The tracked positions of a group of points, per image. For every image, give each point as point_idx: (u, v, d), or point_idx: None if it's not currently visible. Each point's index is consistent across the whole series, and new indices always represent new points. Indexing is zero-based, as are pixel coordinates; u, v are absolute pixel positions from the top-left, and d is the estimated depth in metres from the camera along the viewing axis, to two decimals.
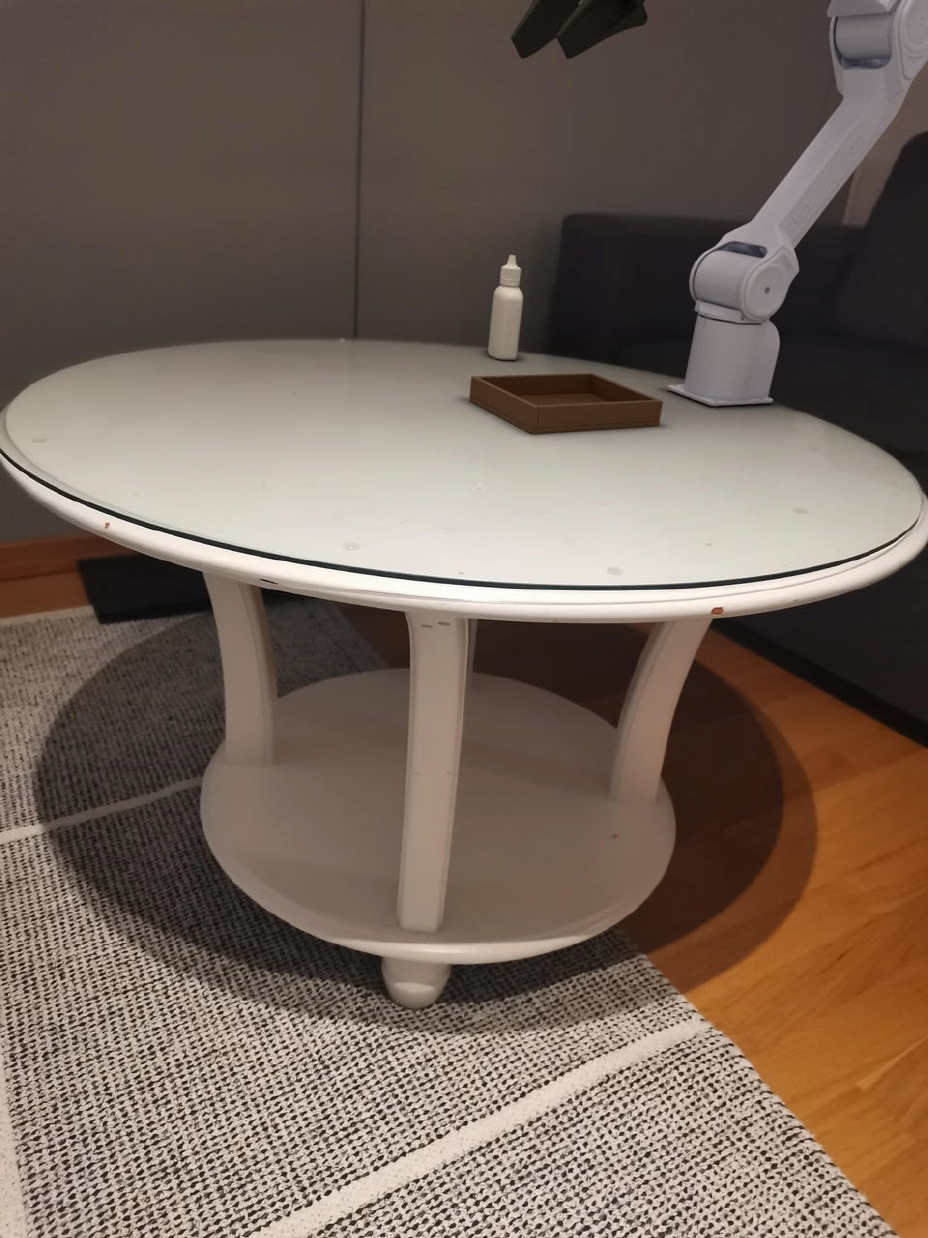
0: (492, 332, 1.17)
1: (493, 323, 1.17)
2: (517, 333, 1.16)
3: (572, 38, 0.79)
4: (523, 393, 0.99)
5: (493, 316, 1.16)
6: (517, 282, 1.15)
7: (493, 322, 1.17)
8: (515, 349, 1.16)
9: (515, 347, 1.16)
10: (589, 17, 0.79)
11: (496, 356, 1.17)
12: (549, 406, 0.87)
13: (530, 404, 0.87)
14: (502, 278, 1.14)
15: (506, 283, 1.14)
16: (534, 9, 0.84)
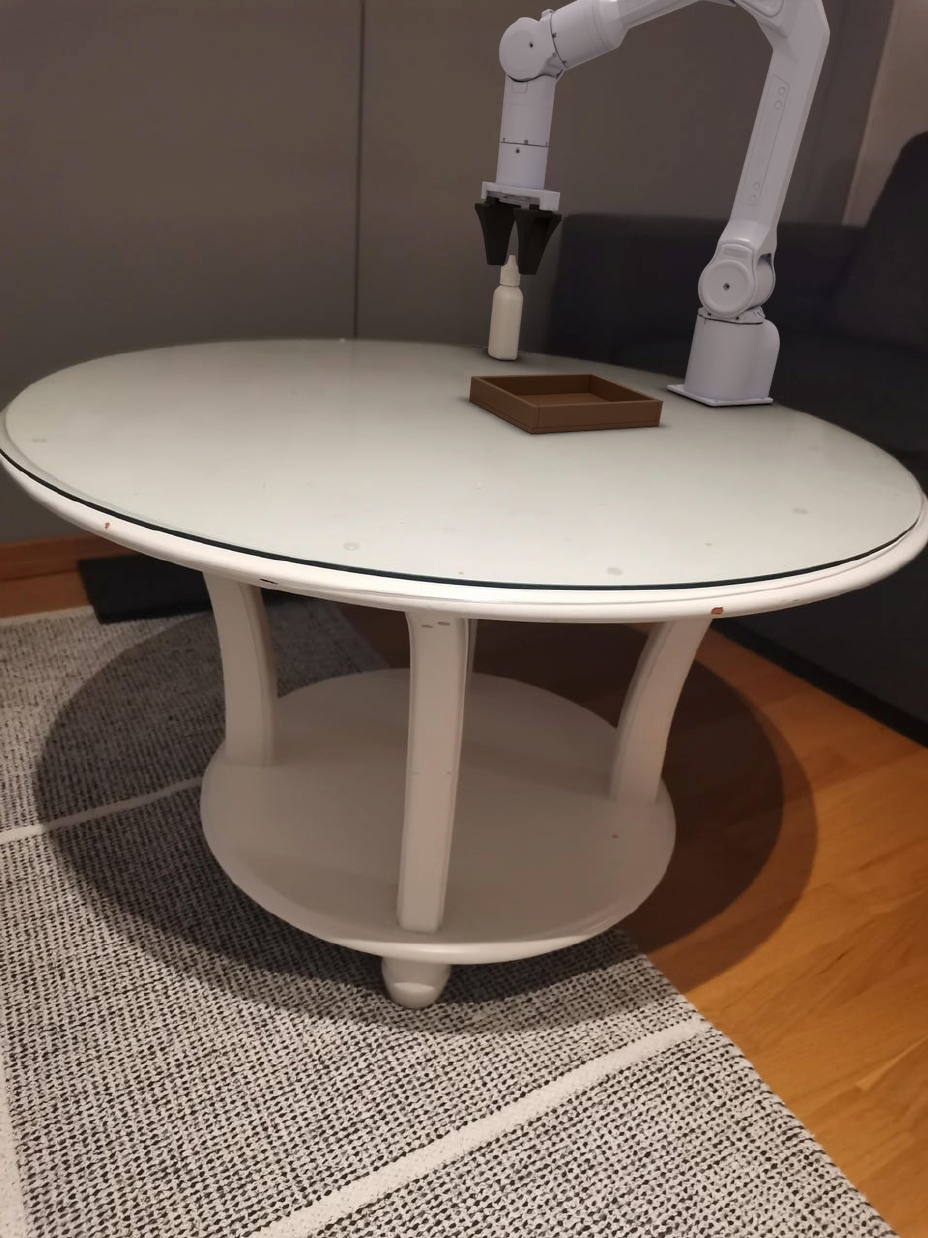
0: (492, 332, 1.17)
1: (493, 323, 1.17)
2: (517, 333, 1.16)
3: (529, 266, 1.11)
4: (523, 393, 0.99)
5: (493, 316, 1.16)
6: (517, 283, 1.15)
7: (493, 322, 1.17)
8: (515, 349, 1.16)
9: (515, 347, 1.16)
10: (529, 247, 1.10)
11: (496, 356, 1.17)
12: (549, 406, 0.87)
13: (530, 404, 0.87)
14: (502, 278, 1.14)
15: (506, 283, 1.14)
16: (488, 238, 1.15)
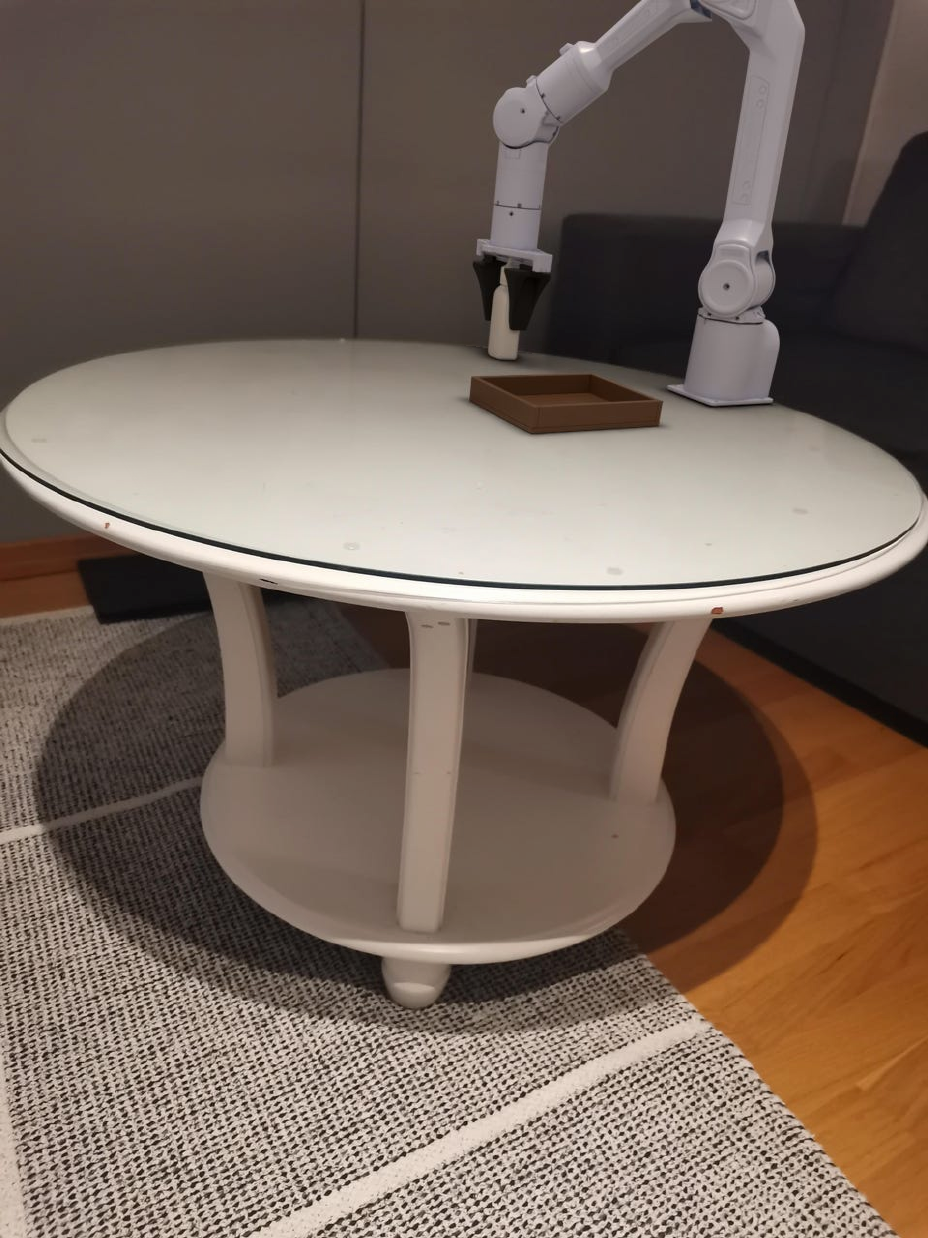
0: (492, 331, 1.17)
1: (493, 323, 1.17)
2: (517, 333, 1.16)
3: (519, 322, 1.14)
4: (523, 393, 0.99)
5: (493, 316, 1.16)
6: None
7: (493, 322, 1.17)
8: (515, 349, 1.16)
9: (515, 347, 1.16)
10: (519, 305, 1.13)
11: (496, 356, 1.17)
12: (549, 406, 0.87)
13: (530, 404, 0.87)
14: (502, 278, 1.14)
15: (506, 283, 1.14)
16: (486, 295, 1.18)
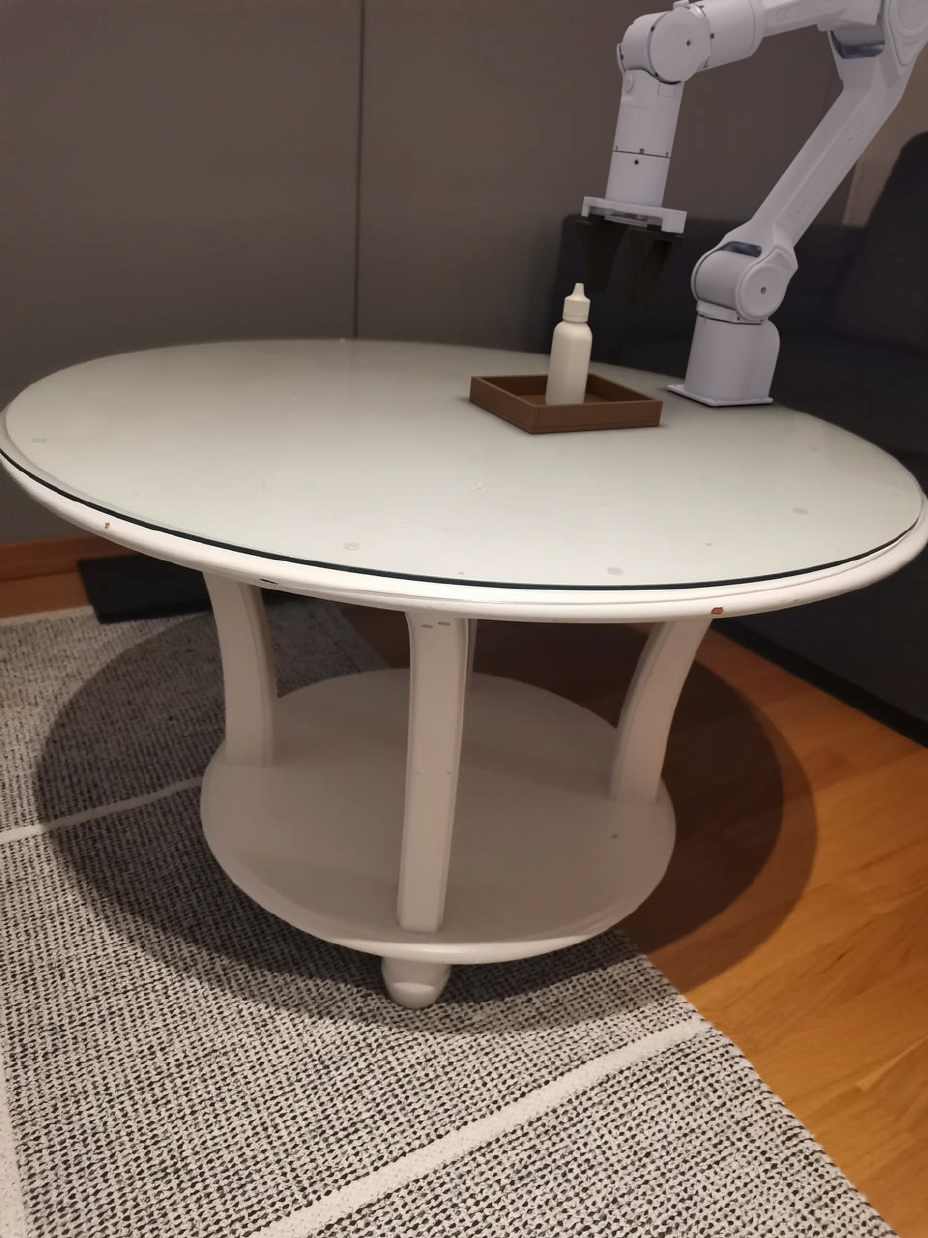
0: (552, 379, 0.93)
1: (553, 368, 0.93)
2: (584, 381, 0.92)
3: (641, 296, 0.95)
4: (523, 393, 0.99)
5: (554, 359, 0.92)
6: (586, 318, 0.91)
7: (553, 367, 0.93)
8: (581, 401, 0.93)
9: (581, 398, 0.92)
10: (643, 274, 0.94)
11: None
12: (549, 406, 0.87)
13: (530, 404, 0.87)
14: (566, 312, 0.90)
15: (571, 319, 0.90)
16: (590, 262, 0.99)
